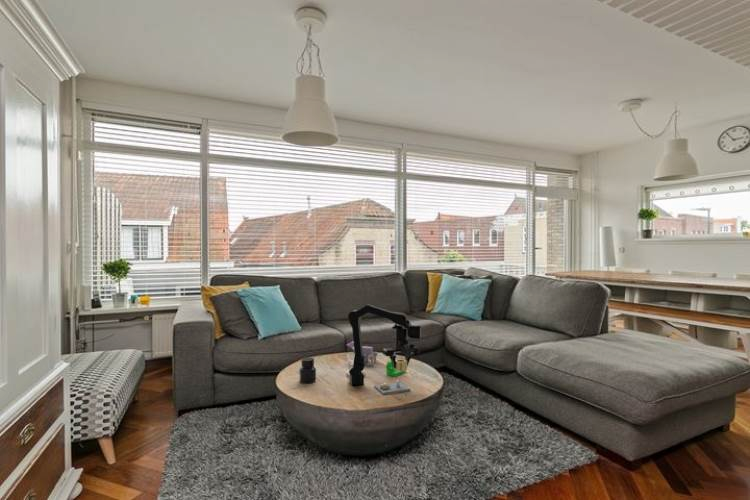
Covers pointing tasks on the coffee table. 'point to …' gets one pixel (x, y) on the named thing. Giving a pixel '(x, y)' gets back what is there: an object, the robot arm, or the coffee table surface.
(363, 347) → the toy sheep
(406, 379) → the coffee table surface
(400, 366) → the gear
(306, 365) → the ink bottle
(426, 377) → the coffee table surface
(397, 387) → the carrier board
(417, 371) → the coffee table surface
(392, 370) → the mechanical part
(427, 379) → the coffee table surface
